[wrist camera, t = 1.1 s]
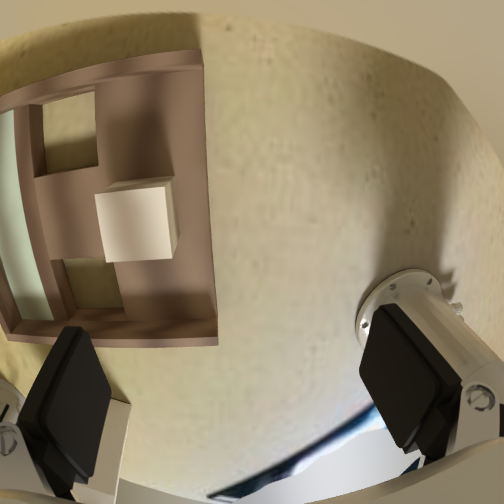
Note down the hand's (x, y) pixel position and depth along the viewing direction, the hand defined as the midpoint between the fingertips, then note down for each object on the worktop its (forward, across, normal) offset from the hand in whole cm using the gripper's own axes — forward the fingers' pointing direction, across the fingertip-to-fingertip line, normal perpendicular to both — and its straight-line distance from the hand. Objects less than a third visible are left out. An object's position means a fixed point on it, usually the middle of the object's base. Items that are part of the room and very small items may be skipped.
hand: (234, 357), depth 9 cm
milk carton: (+20, +19, +29) cm, 40 cm away
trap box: (+20, +13, 0) cm, 24 cm away
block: (+17, +6, 0) cm, 18 cm away
